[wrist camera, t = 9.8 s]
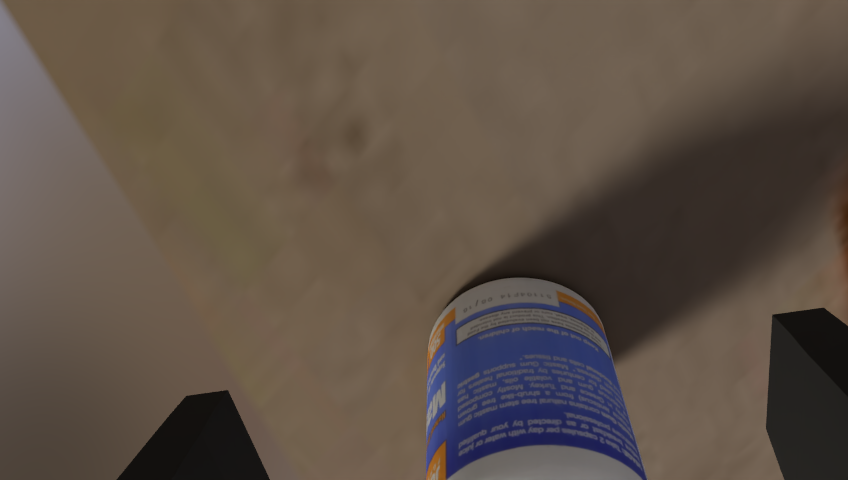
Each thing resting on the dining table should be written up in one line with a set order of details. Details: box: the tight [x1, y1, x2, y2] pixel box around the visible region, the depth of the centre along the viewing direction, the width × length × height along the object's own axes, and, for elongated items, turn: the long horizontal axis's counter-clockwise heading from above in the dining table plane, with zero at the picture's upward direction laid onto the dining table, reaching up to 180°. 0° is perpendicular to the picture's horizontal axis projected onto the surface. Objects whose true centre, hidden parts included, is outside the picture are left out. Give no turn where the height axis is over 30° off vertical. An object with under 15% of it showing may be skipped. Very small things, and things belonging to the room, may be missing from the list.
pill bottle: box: [426, 278, 648, 480], centre depth 19 cm, size 5×5×10 cm
